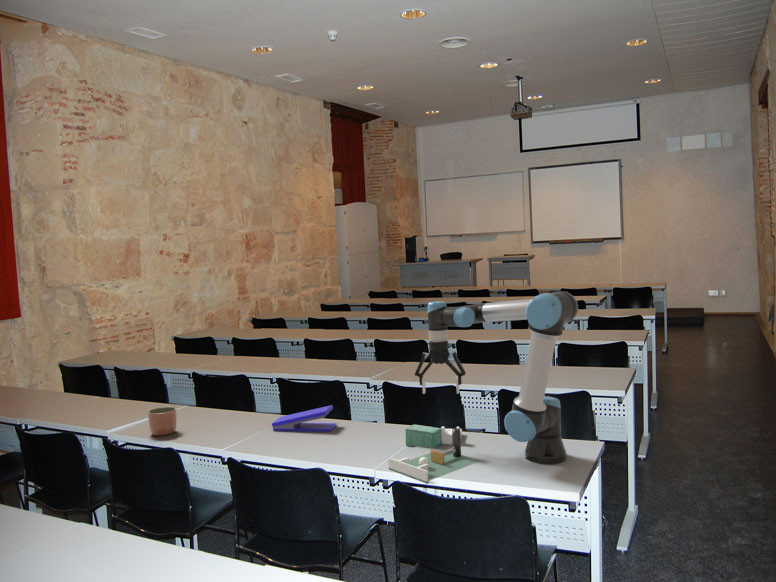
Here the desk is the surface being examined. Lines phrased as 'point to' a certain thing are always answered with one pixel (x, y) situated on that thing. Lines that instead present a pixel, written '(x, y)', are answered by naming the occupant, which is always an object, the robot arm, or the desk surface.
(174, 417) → the planter
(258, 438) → the desk surface
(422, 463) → the ball
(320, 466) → the desk surface
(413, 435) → the box
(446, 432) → the bracket
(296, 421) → the stapler
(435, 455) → the small squeegee
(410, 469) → the pitch
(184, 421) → the desk surface
